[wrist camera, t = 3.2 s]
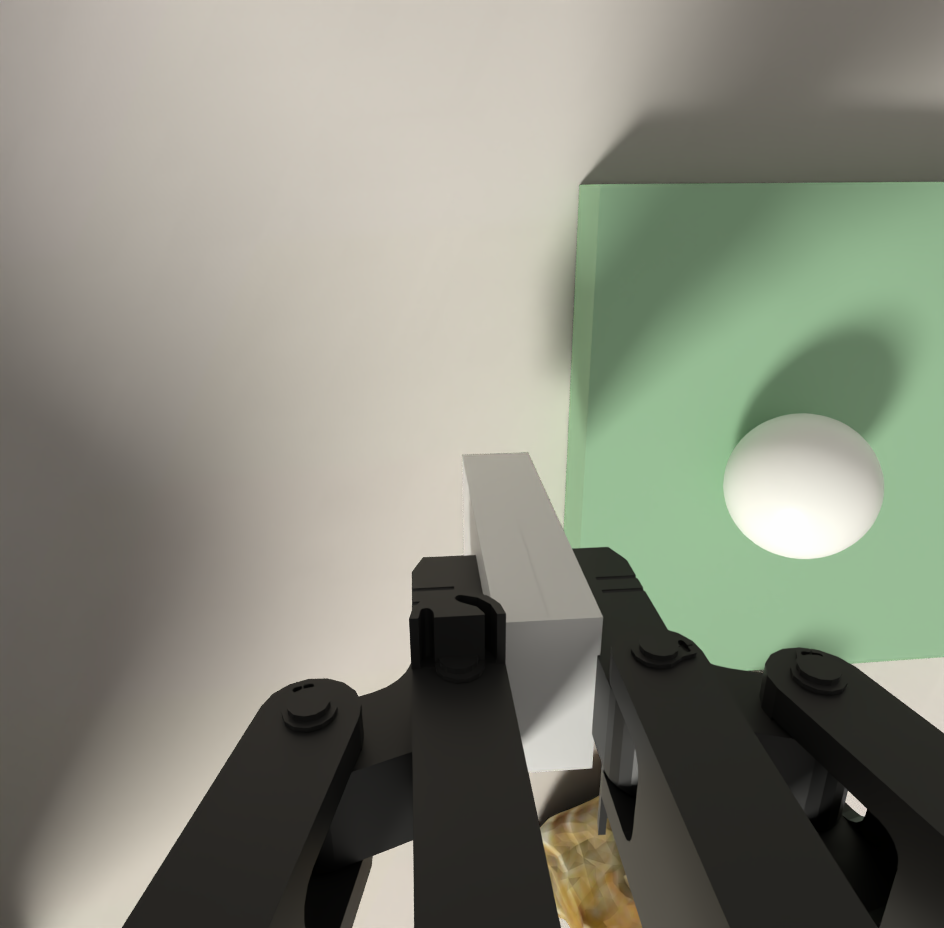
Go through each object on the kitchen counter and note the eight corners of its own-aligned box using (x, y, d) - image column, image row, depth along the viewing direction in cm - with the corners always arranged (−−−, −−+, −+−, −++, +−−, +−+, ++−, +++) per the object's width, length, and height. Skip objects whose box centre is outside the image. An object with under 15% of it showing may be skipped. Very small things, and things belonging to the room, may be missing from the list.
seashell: (507, 685, 27) (641, 762, 18) (686, 674, 30) (889, 737, 20) (508, 937, 26) (650, 1161, 17) (693, 905, 29) (910, 1085, 19)
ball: (693, 522, 19) (754, 591, 16) (708, 398, 18) (778, 445, 15) (816, 516, 20) (901, 582, 16) (840, 393, 18) (936, 438, 15)
